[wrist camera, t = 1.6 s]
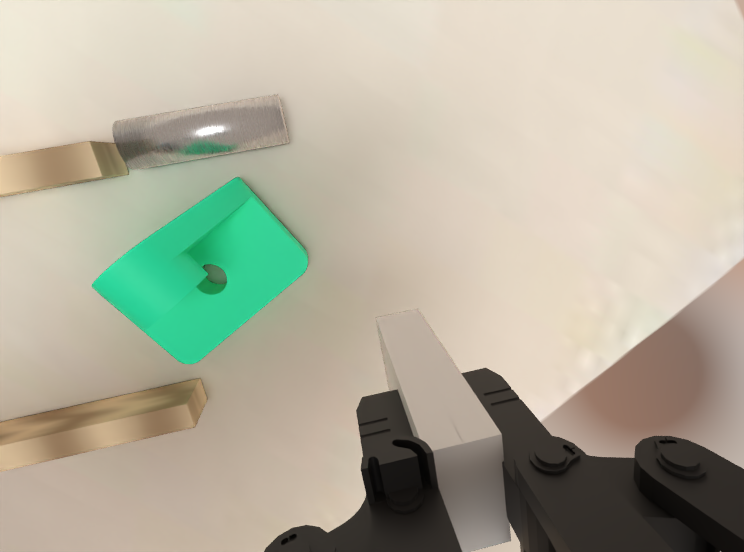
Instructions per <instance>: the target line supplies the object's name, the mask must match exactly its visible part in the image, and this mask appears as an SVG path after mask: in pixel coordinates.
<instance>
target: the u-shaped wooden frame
mask: <svg viewBox="0 0 744 552" xmlns="http://www.w3.org/2000/svg"><path fill="white" fill-rule="evenodd" d="M123 175H129V173H128V170H127V167H126V164H125V162H124V161H123V159H122V157H121V156H120V154H119V152H118V150H117V147H116V144H115V143H104V142H92V141H88V142H82V143H76V144H70V145H64V146H58V147H52V148H46V149H40V150H34V151H28V152H23V153H17V154H11V155H5V156H0V197H4V196H10V195H16V194H21V193H27V192H33V191H38V190H44V189H50V188H55V187H61V186H67V185H72V184H78V183H84V182H89V181H95V180H101V179H106V178H112V177H118V176H123ZM206 402H207V397H206V394H205V391H204V388H203V385H202V382H201V379H200V378H199V379H195V380H190V381H185V382H181V383H176V384H172V385H167V386H163V387H158V388H154V389H149V390H145V391H140V392H135V393H131V394H126V395H122V396H117V397H113V398H108V399H104V400H99V401H95V402H90V403H86V404H81V405H76V406H72V407H67V408H63V409H58V410H54V411H49V412H45V413H40V414H36V415H31V416H26V417H22V418H17V419H13V420H8V421H4V422H0V472H2V471H6V470H11V469H15V468H19V467H24V466H28V465H32V464H37V463H41V462H45V461H50V460H54V459H59V458H63V457H67V456H72V455H76V454H80V453H85V452H89V451H93V450H98V449H102V448H106V447H111V446H115V445H120V444H124V443H128V442H133V441H137V440H141V439H146V438H150V437H154V436H159V435H163V434H167V433H172V432H176V431H181V430H185V429H189V428H194V427H195V426H196V424H197V421H198V419H199V417H200V415H201V413H202V410H203V408H204V406H205V404H206Z"/></svg>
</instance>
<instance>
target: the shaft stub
mask: <svg viewBox="0 0 744 552" xmlns="http://www.w3.org/2000/svg"><path fill="white" fill-rule="evenodd" d="M113 137H114V141H115V144H116V147H117V150H118V152H119V154H120V156H121V157H122V159H123V161H124V162H125V163H126V164H127V166H128V167H130V168H131V169H133V170H138V169H144V168H150V167H155V166H161V165H167V164H172V163H178V162H184V161H190V160H195V159H201V158H207V157H212V156H218V155H224V154H229V153H235V152H241V151H246V150H252V149H258V148H263V147H269V146H275V145H280V144H286V143H289V137H288V132H287V128H286V123H285V119H284V114H283V110H282V106H281V102H280V98H279V95H278V94H277V95H271V96H265V97H258V98H252V99H246V100H240V101H234V102H228V103H222V104H216V105H210V106H204V107H198V108H192V109H186V110H180V111H174V112H168V113H162V114H156V115H150V116H144V117H138V118H132V119H126V120H119V121H115V122H114V124H113Z"/></svg>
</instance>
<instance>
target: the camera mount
mask: <svg viewBox="0 0 744 552" xmlns="http://www.w3.org/2000/svg"><path fill="white" fill-rule="evenodd" d="M206 264H212V265H216V266H218V267H220V268H221V269H222V270H223V271H224V272H225V274H226V277H227V283H224V284H215V283H212V282H211V281H209V280H208V279H207V278H206V276H207V275H208V273H207V272H206V271H205V270H204V269H203V267H204V265H206ZM307 265H308V254H307V252H306V250H305V249H304V248H303V247H302V245H301V244H300V243H299V242H298V241H297V240H296V239H295V238H294V237H293V236H292V234H291V233H290V232H289V231H288V230H287V229H286V228H285V227H284V226H283V225H282V223H281V222H280V221H279V220H278V219H277V218H276V217H275V216H274V215H273V214H272V212H271V211H270V210H269V209H268V208H267V207H266V206H265V205H264V204H263V203H262V201H261V200H260V199H259V198H258V197H257V196H256V195H255V194H254V193H253V192H252V190H251V189H250V188H249V187H248V186H247V185H246V184H245V183H244V182H243V181H242V179H241V178H240V177H237V178H234V179H233V180H231V181H230V182H228V183H227V184H225V185H224V186H222V187H221V188H219V189H218V190H217V191H215V192H214V193H212V194H211V195H209V196H208V197H206V198H205V199H203V200H202V201H200V202H199V203H197V204H196V205H195V206H193V207H192V208H190V209H189V210H187V211H186V212H184V213H183V214H181V215H180V216H178V217H177V218H175V219H174V220H173V221H171V222H170V223H168V224H167V225H165V226H164V227H162V228H161V229H159V230H158V231H156V232H155V233H153V234H152V235H151V236H149V237H148V238H146V239H145V240H143V241H142V242H140V243H139V244H138V245H136V246H135V247H134V248H132V249H131V250H130V251H128V252H127V253H126V254H125V255H123V256H122V257H121V258H120V259H118V260H117V261H116V262H115V263H114V264H112V265H111V266H110V267H109V268H108V269H107V270H106V271H104V272H103V273H102V274H101V275H100V276H99V277H98V278H97V279H96V280H95V281H94V283H93V284H92V287H93V288H94V289H95V290H96V291H97V292H98V293H99V294H100V295H101V296H102V297H104V298H105V299H106V300H107V301H108V302H110V303H111V304H112V305H113V306H114V307H115V308H117V309H118V310H119V311H120V312H121V313H122V314H124V315H125V316H126V317H127V318H128V319H130V320H131V321H132V322H133V323H134V324H135V325H137V326H138V327H139V328H140V329H141V330H142V331H144V332H145V333H146V334H147V335H148V336H150V337H151V338H152V339H153V340H154V341H155V342H157V343H158V344H159V345H160V346H161V347H162V348H164V349H165V350H166V351H167V352H168V353H170V354H171V355H172V356H173V357H174V358H175V359H177V360H178V361H179V362H181V363H184V364H194V363H197V362H198V361H200V360H201V359H202V358H203V357H205V356H206V355H207V354H208V353H209V352H211V351H212V350H213V349H214V348H215V347H216V346H218V345H219V344H220V343H221V342H222V341H224V340H225V339H226V338H227V337H228V336H230V335H231V334H232V333H233V332H234V331H236V330H237V329H238V328H239V327H240V326H242V325H243V324H244V323H245V322H246V321H247V320H249V319H250V318H251V317H252V316H253V315H255V314H256V313H257V312H258V311H259V310H261V309H262V308H263V307H264V306H265V305H267V304H268V303H269V302H270V301H271V300H273V299H274V298H275V297H276V296H277V295H278V294H280V293H281V292H282V291H283V290H284V289H286V288H287V287H288V286H289V285H290V284H292V283H293V282H294V281H295V280H296V279H298V278H299V277H300V276H301V275H302V274H303V273H304V272H305V271H306V269H307Z"/></svg>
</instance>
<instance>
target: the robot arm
mask: <svg viewBox="0 0 744 552" xmlns="http://www.w3.org/2000/svg"><path fill="white" fill-rule="evenodd" d="M376 322H377V327H378V333H379V338H380V344H381V349H382V354H383V360H384V365H385V371H386V376H387V382H388V386H389V390H390V391H388V392H383V393H379V394H375V395H370V396H366V397H362V399H361V401H360V403H359V406H358V408H357V410H356V411H357V418H358V425H359V431H360V437H361V444H362V451H363V458H362V464H361V472H362V477H363V481H364V485H365V490H366V498H365V501H364V503H363V504H362V506H361V508H360V509H359V510H358V512H357V513H356V514H355V515H354V516H353V517H352V518H351V519H349V520H348V521H346V522H345V523H344V524H342V525H341V526H339V527H337V528H335V529H334V530H332V531H330V532H329V533H327V532H325V531H324V530H323V529H321V528H320V527H315V526H309V525H304V526H300V527H295V528H292V529H290V530H288V531H286V532H284V533H283V534H281V535H279V536H278V537H277V538H276V539H275V540H274V541H273V542H272V543H271V544H270V545H269V546H268V547H267V548H266V549H265V551H264V552H471V551H475V550H479V549H482V548H486V547H490V546H493V545H498V544H501V543H505V542H508V541H511V536H510V524H511V526H512V528H513V530H514V531H515V533H516V535H517V537H518V539H519V541H520V546H521V552H720V551H721V552H744V469H743V468H741V467H739V466H737V465H735V464H733V463H731V462H730V461H728V460H726V459H724V458H723V457H721V456H719V455H717V454H715V453H714V452H712V451H710V450H708V449H706V448H705V447H702V446H700V445H698V444H695V443H693V442H691V441H689V440H685V439H681V438H676V437H672V436H653V437H649V438H646V439H643V440H642V441H640V442H639V443H638V444H637V445H636V447H635V458H613V457H612V458H611V457H608V458H607V457H595V456H588V455H586V454H585V453H584V452H583V451H582V450H581V449H579V448H578V447H577V446H576V445H575V444H573V443H571V442H569V441H567V440H565V439H562V438H560V437H554V436H551V435H550V433H549V432H548V431H547V430H546V428H545V427H544V426H543V425H542V424H541V423H540V421H539V420H538V419H537V418H536V417H535V415H534V414H533V413H532V412H531V411H530V410H529V408H528V407H527V406H526V405H525V404H524V402H523V401H522V400H520V399H519V397H518V395H517V394H516V393H515V392H514V391H513V390H511V387H510V386H509V385H508V383H507V382H506V381H505V380H504V379H503V378H502V376H500V375H498V374H496V373H495V372H493V371H491V370H489V369H487V368H483V369H479V370H474V371H470V372H465V373H461V372H460V371H459V369H458V368H457V366H456V365H455V363H454V362H453V360H452V359H451V357H450V356H449V354H448V353H447V351H446V350H445V348H444V347H443V345H442V344H441V342H440V341H439V339H438V338H437V336H436V335H435V333H434V332H433V330H432V329H431V327H430V326H429V324H428V323H427V321H426V320H425V318H424V317H423V315H422V314H421V312H420V311H419V309H413V310H409V311H404V312H399V313H395V314H390V315H385V316H380V317H376ZM509 522H510V524H509Z"/></svg>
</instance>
